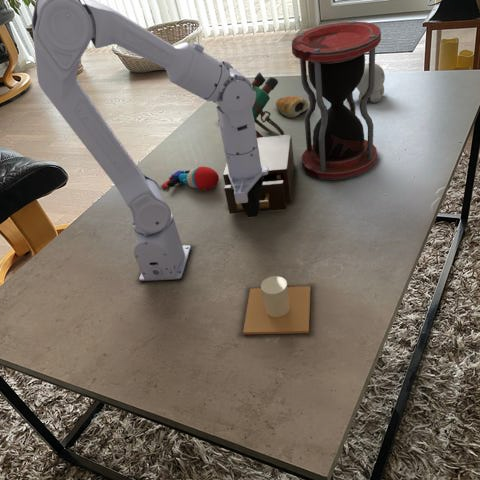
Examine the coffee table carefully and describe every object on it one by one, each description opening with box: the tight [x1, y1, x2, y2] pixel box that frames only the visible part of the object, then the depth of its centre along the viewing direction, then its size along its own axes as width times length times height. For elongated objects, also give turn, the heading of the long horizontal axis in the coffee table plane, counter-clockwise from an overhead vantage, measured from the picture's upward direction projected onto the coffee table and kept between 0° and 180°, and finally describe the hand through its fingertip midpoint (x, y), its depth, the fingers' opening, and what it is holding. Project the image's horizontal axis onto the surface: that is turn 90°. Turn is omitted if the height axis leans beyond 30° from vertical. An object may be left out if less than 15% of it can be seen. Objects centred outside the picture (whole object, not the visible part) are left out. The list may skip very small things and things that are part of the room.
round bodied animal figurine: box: [355, 62, 386, 103], centre depth 124 cm, size 7×12×8 cm, turn 62°
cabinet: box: [222, 134, 295, 205], centre depth 102 cm, size 15×13×8 cm
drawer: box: [224, 173, 288, 215], centre depth 97 cm, size 17×11×6 cm, turn 173°
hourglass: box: [291, 20, 382, 181], centre depth 98 cm, size 16×16×25 cm
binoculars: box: [251, 72, 286, 138], centre depth 115 cm, size 14×14×15 cm
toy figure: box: [161, 166, 220, 191], centre depth 108 cm, size 8×5×15 cm
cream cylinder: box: [260, 275, 290, 317], centre depth 75 cm, size 4×4×5 cm
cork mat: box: [242, 285, 312, 335], centre depth 77 cm, size 10×10×1 cm
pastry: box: [275, 95, 309, 118], centre depth 128 cm, size 9×7×4 cm
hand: (253, 215), depth 91 cm, fingers closed
